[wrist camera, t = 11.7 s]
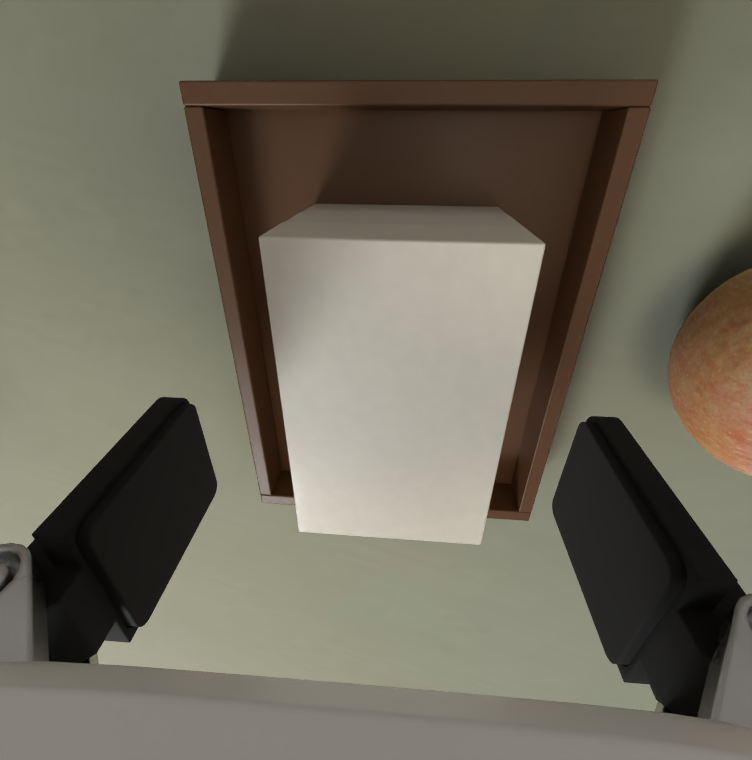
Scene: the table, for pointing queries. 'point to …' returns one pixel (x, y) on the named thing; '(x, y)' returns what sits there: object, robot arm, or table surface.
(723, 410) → the fruit
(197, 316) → the table surface
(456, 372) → the white book
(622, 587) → the robot arm
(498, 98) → the book tray
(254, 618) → the table surface
